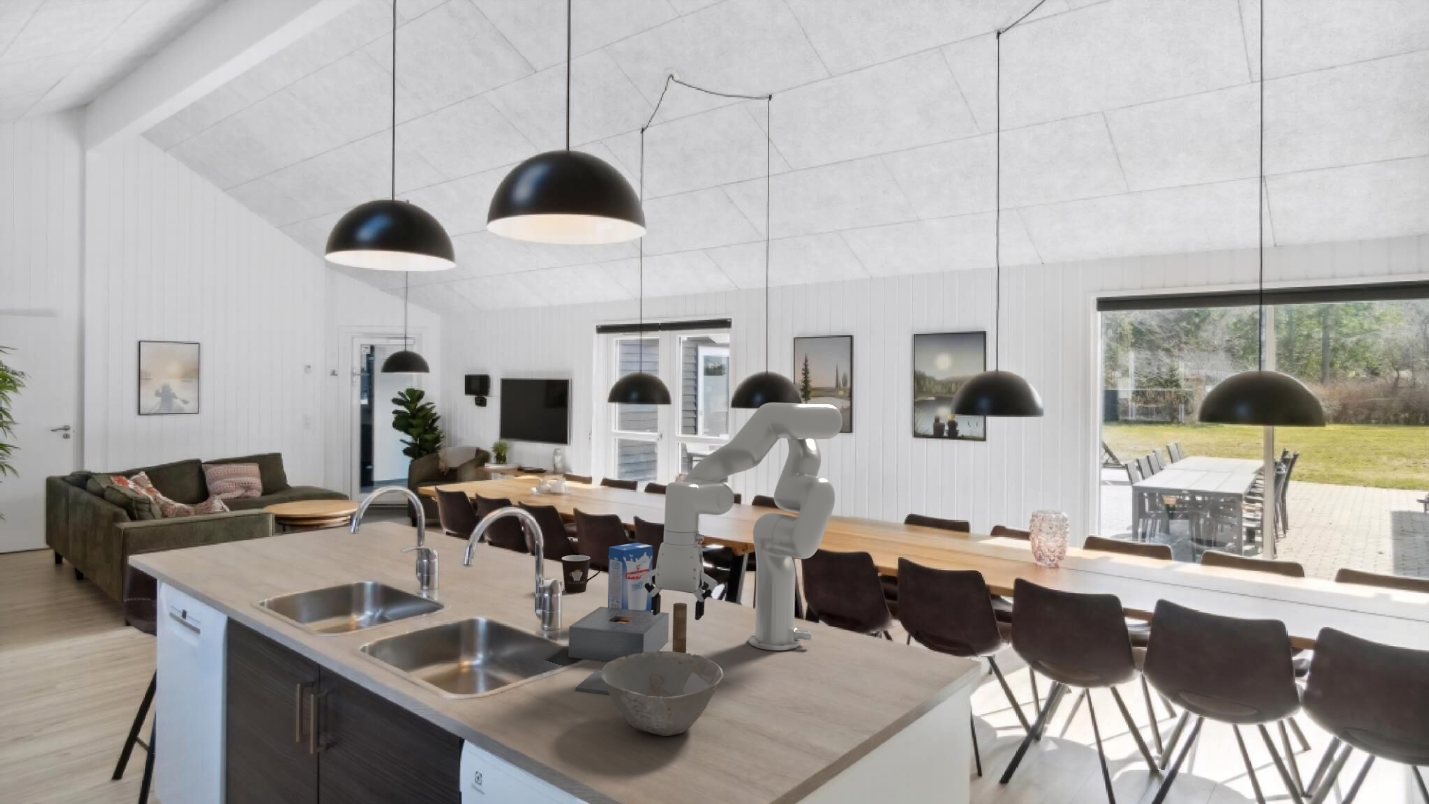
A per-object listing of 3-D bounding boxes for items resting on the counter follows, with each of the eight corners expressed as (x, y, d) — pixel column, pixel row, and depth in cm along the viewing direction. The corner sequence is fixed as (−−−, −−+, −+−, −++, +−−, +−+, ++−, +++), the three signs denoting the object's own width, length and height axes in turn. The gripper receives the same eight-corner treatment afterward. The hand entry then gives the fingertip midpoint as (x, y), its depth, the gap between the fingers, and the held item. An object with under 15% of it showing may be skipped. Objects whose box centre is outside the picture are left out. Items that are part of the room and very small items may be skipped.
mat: (639, 678, 165) (639, 676, 165) (621, 696, 155) (621, 693, 155) (595, 673, 167) (595, 671, 167) (575, 690, 157) (575, 687, 157)
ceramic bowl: (620, 764, 126) (622, 702, 126) (585, 710, 147) (586, 658, 147) (744, 742, 135) (745, 685, 135) (694, 695, 156) (695, 645, 156)
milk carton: (636, 615, 212) (637, 542, 212) (651, 620, 208) (652, 545, 208) (607, 622, 205) (608, 546, 205) (622, 627, 201) (623, 550, 201)
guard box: (668, 641, 190) (668, 612, 190) (643, 665, 173) (643, 634, 173) (599, 634, 195) (600, 606, 195) (568, 657, 177) (569, 626, 177)
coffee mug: (556, 593, 235) (557, 560, 235) (566, 586, 243) (567, 554, 243) (593, 595, 233) (594, 562, 233) (602, 588, 242) (603, 556, 242)
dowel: (687, 666, 173) (688, 603, 173) (683, 670, 170) (684, 606, 170) (674, 665, 174) (675, 602, 174) (670, 669, 171) (671, 605, 171)
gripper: (722, 539, 173) (719, 616, 173) (649, 533, 177) (645, 608, 177) (714, 544, 166) (710, 625, 165) (637, 537, 170) (634, 616, 170)
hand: (677, 616), depth 171 cm, fingers open, 9 cm apart
